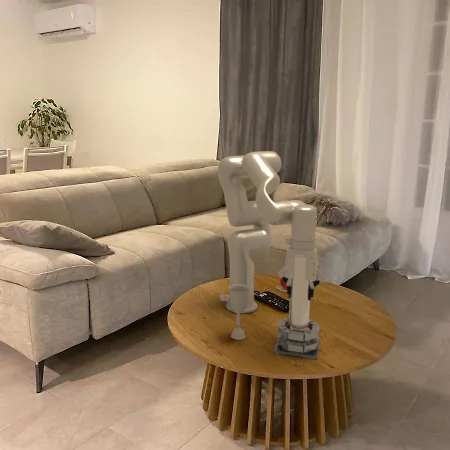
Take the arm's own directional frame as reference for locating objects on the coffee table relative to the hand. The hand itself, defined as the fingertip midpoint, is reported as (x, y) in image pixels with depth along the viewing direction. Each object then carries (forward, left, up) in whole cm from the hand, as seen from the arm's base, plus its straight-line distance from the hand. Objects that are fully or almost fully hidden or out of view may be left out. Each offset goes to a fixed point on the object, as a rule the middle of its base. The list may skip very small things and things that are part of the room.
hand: (300, 297), depth 152 cm
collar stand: (0, 0, -18) cm, 18 cm away
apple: (-12, +51, -18) cm, 55 cm away
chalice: (-21, +2, -18) cm, 28 cm away
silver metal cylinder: (0, 0, -10) cm, 10 cm away
